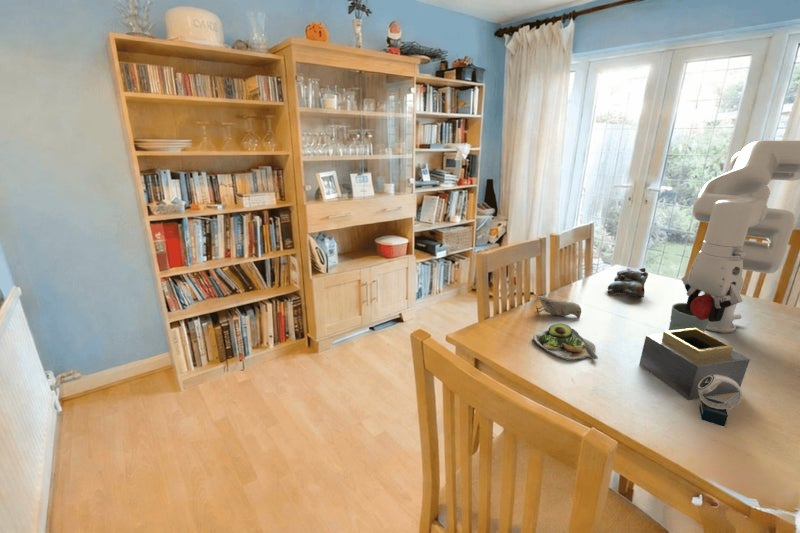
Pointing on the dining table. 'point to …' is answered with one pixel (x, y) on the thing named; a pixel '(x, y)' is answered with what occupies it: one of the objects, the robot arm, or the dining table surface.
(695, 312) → the onion
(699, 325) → the grey-green pot
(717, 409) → the watch
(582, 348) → the salad plate
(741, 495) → the dining table surface
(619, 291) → the dark grey lumpy piece
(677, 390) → the housing
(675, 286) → the dining table surface
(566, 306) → the decorative bird
